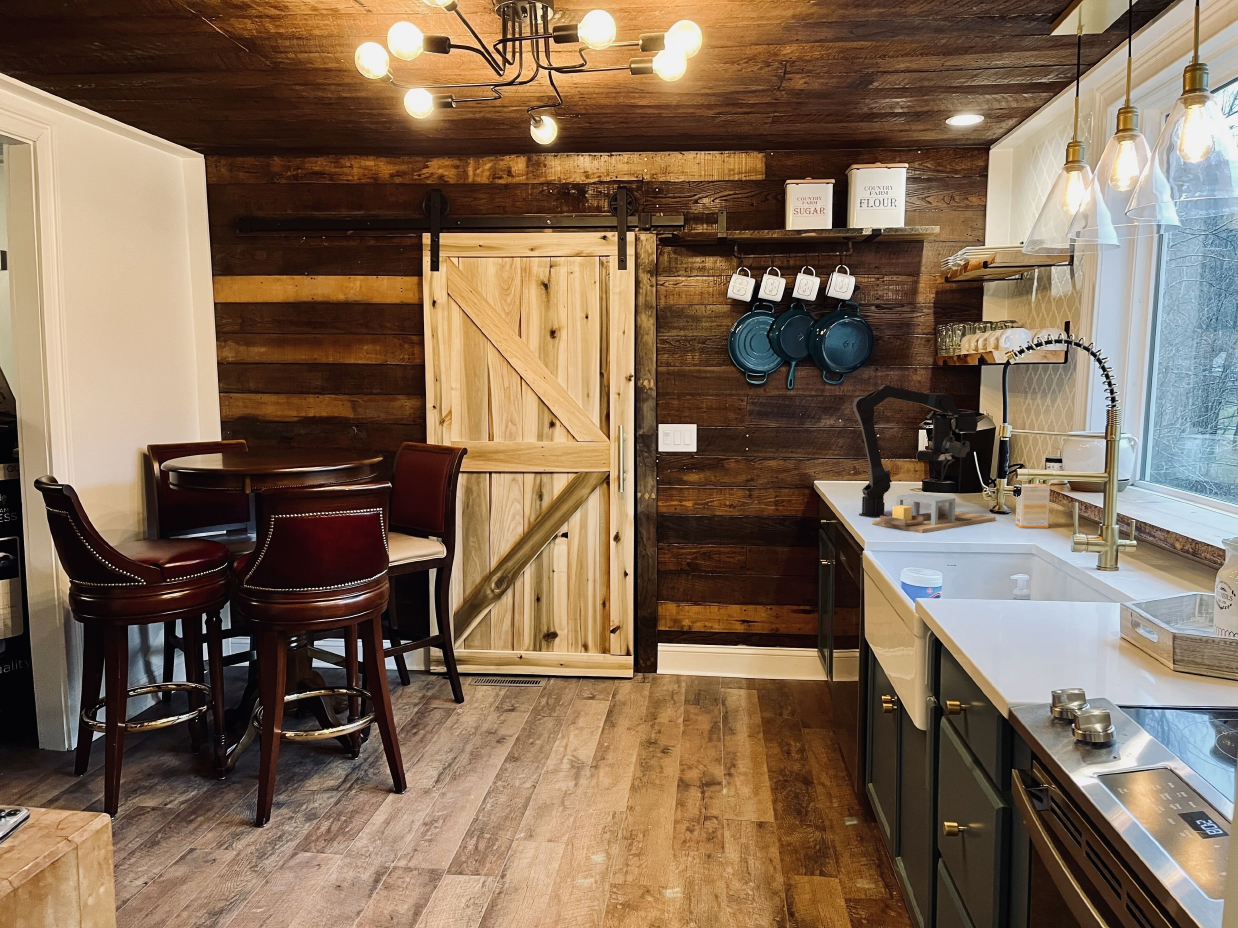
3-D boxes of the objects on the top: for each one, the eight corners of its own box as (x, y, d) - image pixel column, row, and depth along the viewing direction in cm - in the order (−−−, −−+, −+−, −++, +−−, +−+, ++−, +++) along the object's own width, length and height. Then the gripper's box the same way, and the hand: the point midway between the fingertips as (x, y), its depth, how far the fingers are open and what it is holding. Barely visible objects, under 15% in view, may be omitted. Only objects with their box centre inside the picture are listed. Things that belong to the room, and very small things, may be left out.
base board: (872, 524, 269) (872, 520, 269) (945, 513, 291) (945, 509, 290) (922, 532, 254) (922, 528, 254) (995, 520, 276) (995, 516, 276)
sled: (880, 521, 264) (880, 502, 263) (933, 513, 279) (933, 495, 278) (905, 525, 257) (905, 505, 256) (958, 517, 272) (958, 498, 271)
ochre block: (892, 519, 263) (892, 506, 263) (900, 518, 266) (901, 505, 265) (903, 521, 260) (903, 507, 260) (911, 519, 262) (912, 506, 262)
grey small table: (895, 522, 272) (896, 495, 272) (915, 519, 278) (916, 493, 277) (934, 528, 261) (935, 500, 260) (954, 525, 267) (955, 498, 266)
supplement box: (1042, 525, 266) (1044, 483, 265) (1048, 528, 261) (1050, 485, 260) (1014, 525, 267) (1016, 483, 266) (1020, 528, 262) (1022, 485, 261)
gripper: (946, 435, 269) (945, 485, 270) (981, 432, 280) (979, 480, 281) (916, 433, 278) (914, 481, 280) (950, 431, 289) (949, 477, 290)
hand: (940, 480), depth 282 cm, fingers closed
